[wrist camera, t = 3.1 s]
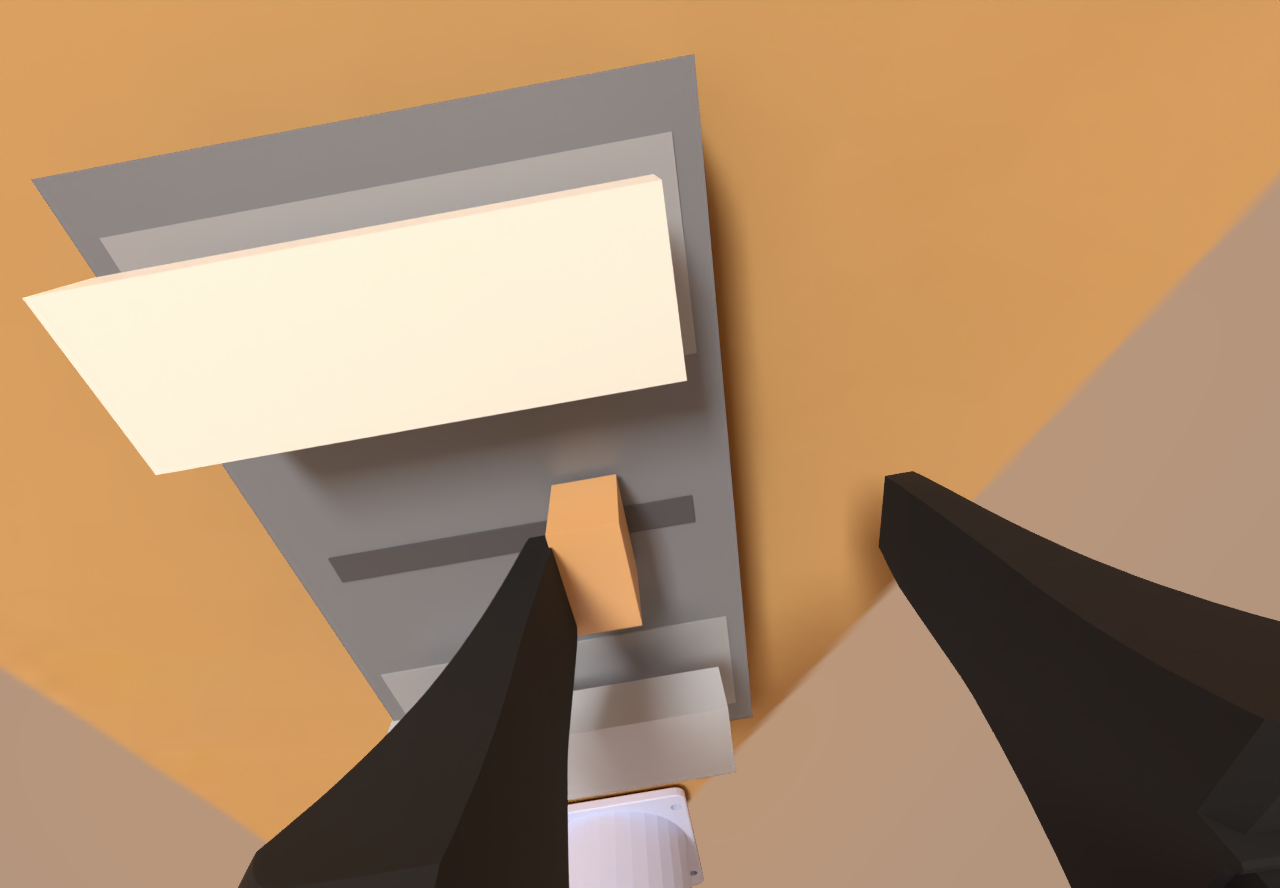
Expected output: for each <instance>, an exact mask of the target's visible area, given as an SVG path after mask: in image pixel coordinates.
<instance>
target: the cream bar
mask: <svg viewBox="0 0 1280 888" xmlns="http://www.w3.org/2000/svg"><path fill="white" fill-rule="evenodd" d="M23 300H24V301H25V302H26V303H27V305H28V306H29V307H30V309H31V310H32V311H33V313H34V314H35V315H36V317H37V318H38V319H39V321H40V322H41V323H42V325H43V326H44V327H45V329H46V330H47V331H48V333H49V334H50V335H51V337H52V338H53V339H54V341H55V342H56V343H57V345H58V346H59V347H60V349H61V350H62V351H63V353H64V354H65V355H66V356H67V358H68V359H69V360H70V362H71V363H72V364H73V366H74V367H75V368H76V370H77V371H78V372H79V374H80V375H81V376H82V378H83V379H84V380H85V382H86V383H87V384H88V386H89V387H90V388H91V390H92V391H93V392H94V394H95V395H96V396H97V398H98V399H99V400H100V402H101V403H102V404H103V405H104V407H105V408H106V409H107V411H108V412H109V413H110V415H111V416H112V417H113V419H114V420H115V421H116V423H117V424H118V425H119V427H120V428H121V429H122V431H123V432H124V433H125V435H126V436H127V437H128V439H129V440H130V441H131V443H132V444H133V445H134V447H135V448H136V449H137V451H138V452H139V453H140V454H141V456H142V457H143V458H144V460H145V461H146V462H147V464H148V465H149V466H150V468H151V469H152V470H153V472H154V473H155V474H156V475H159V474H165V473H170V472H176V471H181V470H187V469H193V468H198V467H204V466H210V465H215V464H221V463H226V462H232V461H238V460H243V459H249V458H255V457H260V456H266V455H271V454H277V453H283V452H288V451H294V450H300V449H305V448H311V447H316V446H322V445H328V444H333V443H339V442H345V441H350V440H356V439H361V438H367V437H373V436H378V435H384V434H390V433H395V432H401V431H406V430H412V429H418V428H423V427H429V426H435V425H440V424H446V423H451V422H457V421H463V420H468V419H474V418H480V417H485V416H491V415H496V414H502V413H508V412H513V411H519V410H525V409H530V408H536V407H541V406H547V405H553V404H558V403H564V402H570V401H575V400H581V399H586V398H592V397H598V396H603V395H609V394H615V393H620V392H626V391H631V390H637V389H643V388H648V387H654V386H660V385H665V384H671V383H676V382H682V381H687V377H686V369H685V361H684V353H683V345H682V337H681V329H680V321H679V313H678V305H677V297H676V289H675V281H674V273H673V265H672V257H671V249H670V241H669V233H668V226H667V218H666V210H665V202H664V194H663V186H662V180H661V179H660V178H658V177H657V176H655V175H654V174H651V175H646V176H640V177H635V178H630V179H624V180H619V181H613V182H608V183H603V184H597V185H592V186H586V187H581V188H576V189H570V190H565V191H559V192H554V193H549V194H543V195H538V196H532V197H527V198H522V199H516V200H511V201H505V202H500V203H495V204H489V205H484V206H478V207H473V208H468V209H462V210H457V211H451V212H446V213H441V214H435V215H430V216H424V217H419V218H414V219H408V220H403V221H397V222H392V223H387V224H381V225H376V226H370V227H365V228H360V229H354V230H349V231H343V232H338V233H333V234H327V235H322V236H316V237H311V238H306V239H300V240H295V241H289V242H284V243H279V244H273V245H268V246H262V247H257V248H252V249H246V250H241V251H235V252H230V253H225V254H219V255H214V256H208V257H203V258H198V259H192V260H187V261H181V262H176V263H171V264H165V265H160V266H154V267H149V268H144V269H138V270H133V271H127V272H122V273H117V274H111V275H106V276H100V277H95V278H91V279H87V280H84V281H80V282H77V283H73V284H70V285H66V286H63V287H59V288H56V289H52V290H49V291H45V292H42V293H38V294H35V295H31V296H28V297H24V298H23Z"/></svg>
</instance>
